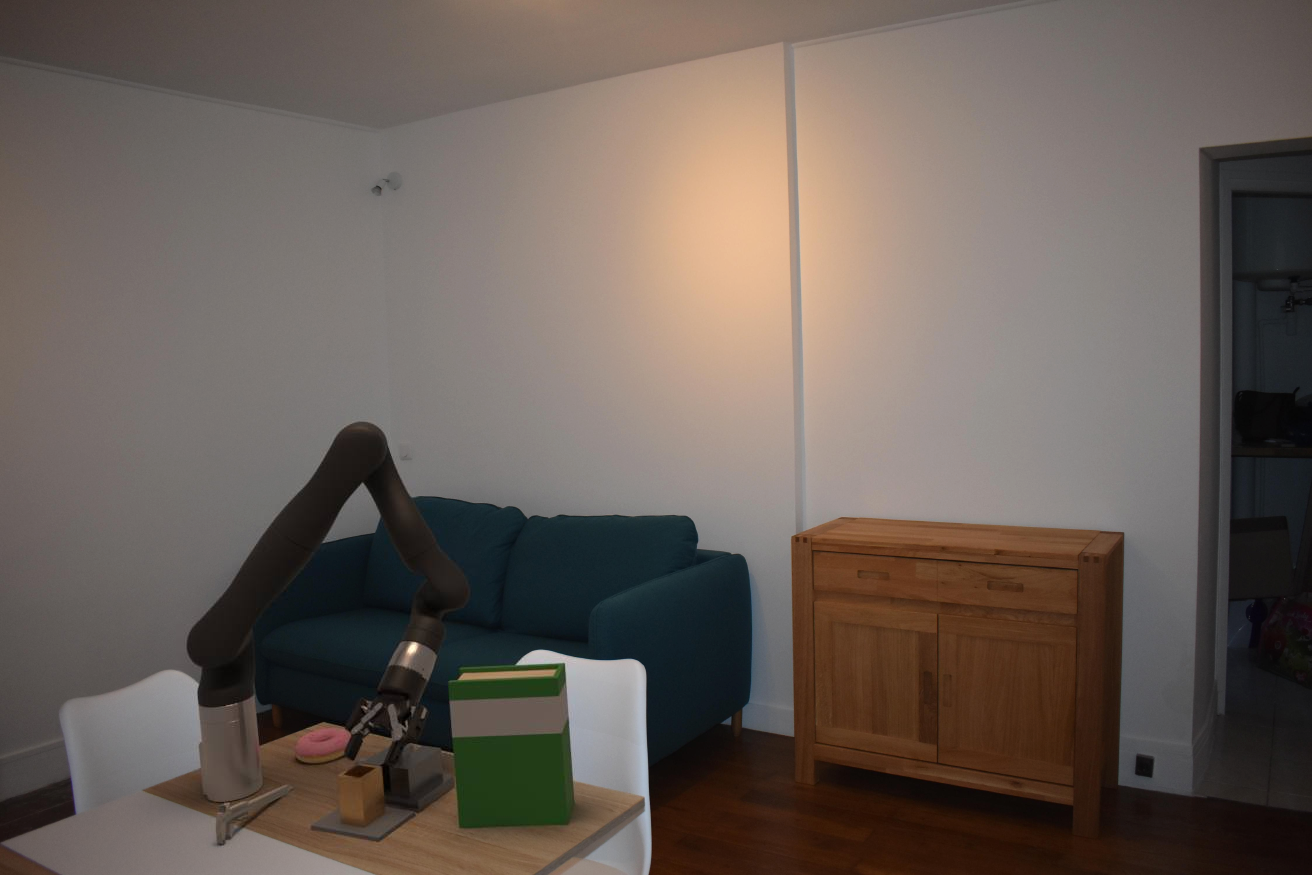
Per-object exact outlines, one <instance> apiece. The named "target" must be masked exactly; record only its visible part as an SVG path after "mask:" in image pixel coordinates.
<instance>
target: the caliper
mask: <svg viewBox="0 0 1312 875" xmlns="http://www.w3.org/2000/svg"><path fill="white" fill-rule="evenodd" d="M294 788H295V787H294V786H293V785H291V784H284V785H282V786H280V787H277V788H275V789H273V790H270V791H268V792H266V793H263V794H261V795H260V796H258V797H255V798H253V799H251V800H248V801H246V800H245V801H243V800H242V801H241V802H239V803H236V804H234V805H231V802H224V803H223V804H219V805H218V806H219V807H218V812H217V813H216V818H215V833H216V834H215V836H216V843H217V845H225V844H226V841H231V839H233V836H234V831H235V825H236V821H237V822H238V821H239V822H240V821H241V822H242V821H243V820H244V819H248V817H249V813H251V812H252V811H255V810H257V809H259V808H261V807H263V806H265V805H267V804H270V803H271V802H274V801H276V800H277V799H280V798H282V797H285V796H286V795H287V794H288V793H289V792H290V791H291V790H293V789H294ZM284 795H285V796H284Z"/></svg>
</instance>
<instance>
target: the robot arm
mask: <svg viewBox="0 0 1312 875" xmlns="http://www.w3.org/2000/svg"><path fill="white" fill-rule="evenodd" d="M362 484H363V485H364V487H365V489H367V491H368V492H369V494H370V496H371V498H372V500H373V502H374V503H375V505H376V508H377V511H378V513H379V515H380V517H381V520H382V523H383V525H384V527H385V530H386V533H387V534H388V536H389V539H390V541H391V542H392V544H393V545H394V548H395V550H396V551H397V553H398V555H399V556H400V559H401V560H402V562H403V564H404V565H405V567H406V569H408V570H409V571H410V572H412V573H414V574H420V575H422V576H423V577H424V578H425V580H424V581H423V582H422V583H421V584H420V586H419V587H418V589H417V590H416V593H415V594H414V599H413V601H412V602H413V603H412V607H411V612H410V617H409V618H410V620H409V623H408V626H407V627H406V630H405V632H404V634H403V636H402V638H401V640H400V642H399V644H398V647H397V648H396V649H395V651H394V652H393V655H392V657H391V659H390V660H389V663H388V665H387V667H386V670H385V672H384V674H383V676H382V678H381V680H380V682H379V684H378V687H377V695H376V697H375V699H373V701H371V700H367V699H366V698H365V697H360V698H359V699H358V700H357V703H356V705H355V706H354V708H353V710H352V711H351V714H350V716H349V717H348V720H347V721H346V723H345V725H344V729H345V730H347V731H348V732H350V734H351V737H350V740H349V742H348V744H347V746H346V748H345V750H344V755H343V756H344V757H345V758H346V759H347V760H348V761H351V762H354V761H356V758H357V755H358V753H359V752H360V749H361V747H362V744H363V742H364V739H365V738H366V737H367V736H368V735H370V734H371V733H375V732H376V731H378V730H379V729H380V730H389V731H391V730H393V731H394V735H395V739H396V741H393V742H392V741H391V745H389V746H390V749H389V751H388V753H387V755H386V758H385V760H384V763H385V764H386V765H388V766H389V767H394V766H395V764H397V763H398V761H399V759H400V757H401V754H402V752H403V750H404V747H405V746H407V745H408V744H413V745H416V744H418V743H419V740H420V739H421V736H422V733H423V731H424V727H425V724H426V721H427V719H428V717H429V713H430V712H429V710H428V709H427V708H426V707H425V706H424V705H422V704H419V703H420V700H421V699H422V695H423V693H424V691H425V688H426V686H427V684H428V682H429V680H430V677H431V675H432V672H433V670H434V666H435V664H436V659H437V657H438V654H439V652H440V650H441V647H442V645H443V644H444V641H445V639H446V635H447V628H446V625H444V623H443V622H442V617H443V615H444V614H445V613H448V612H453V611H458V610H460V609H462V608H464V607H465V606H467V604H468V603H469V600H470V596H471V588H470V584H469V581H468V579H467V577H466V575H465V574H464V572H463V571H462V570H461V569H460V568H459V567H458V566H457V564H455V562H454V561H453V560H452V559H451V558H450V556H449V555H447V554H446V553H445V552H444V551H443V550H442V549H441V547H440V545H439V544H438V542H437V540H436V538H435V536H434V535H433V533H432V530H431V528H430V527H429V526H428V524H427V522H426V521H425V519H424V517H423V516H422V514H421V512H420V510H419V508H418V507H417V506H416V504H415V502H414V500H413V498H412V497H411V496H410V493H409V492H408V490H407V488H406V486H405V484H404V481H403V480H402V478H401V476H400V474H399V471H398V469H397V467H396V464H395V462H394V459H393V456H392V452H391V450H390V447H389V445H388V440H387V436H386V434H385V433H384V431H383V430H382V428H380V427H379V426H377V425H375V424H373V423H371V422H368V421H356V422H355V421H354V422H353V423H350V424H348V425H347V426H345V427H344V428H342V429H341V430H340V431H338V433H337V434H336V436H335V437H334V439H333V441H332V443H331V445H330V447H329V449H328V450H327V452H326V453H325V455H324V457H323V459H322V461H321V462H320V464H319V466H318V467H317V468H316V470H315V472H314V473H313V475H312V476H311V478H310V479H309V480H308V482H307V483H306V484H305V485H304V486H303V487H302V489H300V490H299V491H298V492H297V493H296V494H295V495H294V496H293V497H292V499H291V500H289V501H288V503H287V504H286V505H285V506H284V507H283V508H282V510H280V512H279V513H278V515H277V516H276V517H275V518H274V519H273V521H272V522H271V523H270V524H269V526H268V527H267V529H266V530H265V531H264V533H263V534H262V535H261V536H260V538H259V539H258V541H257V543H256V544H255V546H253V549H252V550H251V551H250V553H249V555H248V556H247V557H246V559H245V560H244V562H243V563H242V565H241V567H240V568H239V570H238V571H237V573H236V574H235V577H234V579H233V580H232V581H231V583H230V585H228V587H227V589H226V590H225V591H224V593H222V595H221V596H220V597H219V598H218V599H217V600H216V601H215V603H213V605H212V606H211V607H210V608H209V610H207V612H205V614H204V615H203V616H201V617H200V619H199V620H197V622H196V623H195V624H194V625H193V626H192V627H191V629H190V630H189V633H188V635H187V638H186V639H187V640H186V651H187V655H188V658H189V659H190V660H191V661H192V663H193V664H194V665H195V666H197V667H200V668H201V675H200V679H199V683H198V687H197V690H196V691H197V693H196V694H197V704H198V706H197V707H198V716H199V726H200V733H201V734H200V736H201V741H200V743H199V744H198V751H199V764H200V773H201V785H202V786H201V787H202V795H204V796H206V798H207V799H208V800H209V801H211V802H216V803H221V802H224V803H227V802H231V801H235V800H236V801H237V800H240V799H244V798H246V797H249V796H251V795H253V794H255V793H257V792H258V791H260V790H261V788H262V787H263V775H262V774H263V773H262V765H261V764H262V763H261V753H260V750H261V749H260V741H259V732H258V731H259V730H258V729H259V728H258V720H257V710H256V709H257V708H256V700H255V699H256V697H255V688H254V683H255V678H256V656H255V655H256V654H255V641H254V640H255V638H254V631H253V627H254V626H255V624H256V623H257V621H258V620H259V619H260V617H261V616H262V614H263V612H264V611H265V610H266V609H267V608H268V606H270V605H271V603H272V602H273V601H274V600H275V599H277V597H278V596H280V594H281V593H282V592H283V591H284V590H285V589H286V588H287V587H288V586H289V585H291V583H292V582H293V580H294V579H295V578H297V576H298V575H299V574H300V573H301V572H302V570H304V568H305V567H306V566H307V564H308V563H309V562H310V560H311V559H312V558H313V556H314V555H315V554H316V552H317V551H318V550H319V548H320V547H321V546H322V544H323V542H324V540H325V538H327V536H328V534H329V533H330V531H331V529H332V527H333V526H334V523H335V522H336V520H337V518H338V517H339V516H338V515H339V513H340V512H341V510H342V508H343V507H344V506H345V504H346V503H347V502H348V500H349V499H350V497H351V496H353V494H354V493H355V492H356V491H357V490H358V488H359V487H361V485H362ZM410 718H411V719H410ZM409 719H410V721H409V724H408V727H407V722H408V720H409ZM371 721H372V722H371ZM406 721H407V722H406Z"/></svg>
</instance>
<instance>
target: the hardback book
mask: <svg viewBox="0 0 1312 875" xmlns="http://www.w3.org/2000/svg"><path fill="white" fill-rule="evenodd" d="M458 671H459V678H458V679H453V680H452V679H451V680H449V681H448V682H447V684H448V698H449V699H448V700H449V711H450V712H449V713H450V722H451V724H450V726H451V737H452V750H453V762H454V763H453V764H454V773H455V774H454V779H455V787H456V788H455V790H456V800H457V801H456V802H457V816H458V817H457V818H458V827H459V828H458V829H476V828H479V829H480V828H508V827H509V828H510V827H512V828H513V827H537V826H538V827H541V826H545V827H546V826H566V825H569V824H570V820H571V819H570V818H571V816H572V813H573V810H574V806H575V801H576V800H575V790H574V789H575V788H574V777H573V776H574V775H573V759H572V746H571V733H570V732H571V731H570V717H569V703H568V686H567V674H566V673H567V672H566V662H559V663H558V662H557V663H537V664H535V663H533V664H512V665H491V666H489V665H487V666H468V667H467V666H465V667H460V668H459V670H458Z"/></svg>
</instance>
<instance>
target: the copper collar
mask: <svg viewBox="0 0 1312 875" xmlns="http://www.w3.org/2000/svg"><path fill="white" fill-rule="evenodd" d="M336 781H337V783H336V784H337V794H338V805H339V807H340V818H341V823H342V824H348V825H353V826H359V827H364V828H365V827H366V826H368V825H369V824H371V823H372V822H374V821H375V820H377V819H378V818H380V817H381V816H382V815H384V814H385V813H386V812H385V800H384V788H383V776H382V767H380V766H373V765H366V764H359V763H358V764H356V765H352V766H351V767H349V768H348V769H346V770H344V771H343V772H340V773H339V774H337V775H336Z"/></svg>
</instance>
